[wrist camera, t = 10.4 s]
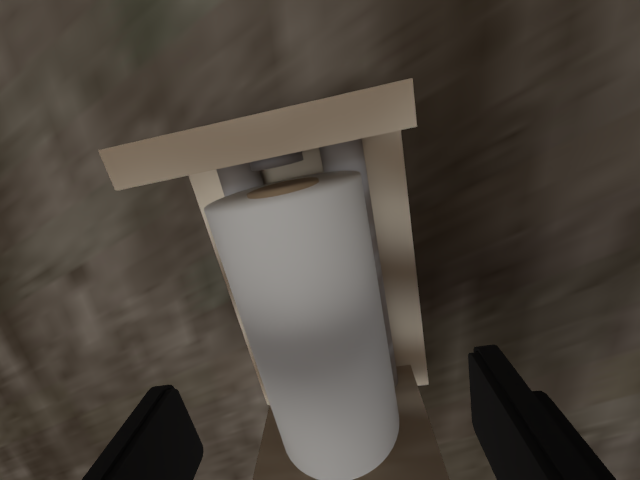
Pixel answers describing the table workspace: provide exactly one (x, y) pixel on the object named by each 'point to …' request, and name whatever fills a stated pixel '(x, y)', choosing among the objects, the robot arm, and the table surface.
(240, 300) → the paper roll
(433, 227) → the table surface
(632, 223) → the table surface
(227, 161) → the roll cradle
